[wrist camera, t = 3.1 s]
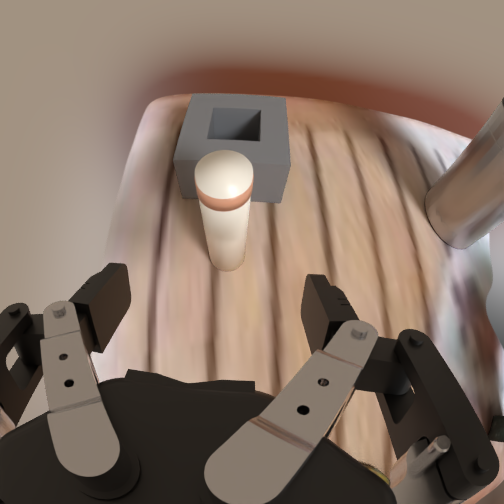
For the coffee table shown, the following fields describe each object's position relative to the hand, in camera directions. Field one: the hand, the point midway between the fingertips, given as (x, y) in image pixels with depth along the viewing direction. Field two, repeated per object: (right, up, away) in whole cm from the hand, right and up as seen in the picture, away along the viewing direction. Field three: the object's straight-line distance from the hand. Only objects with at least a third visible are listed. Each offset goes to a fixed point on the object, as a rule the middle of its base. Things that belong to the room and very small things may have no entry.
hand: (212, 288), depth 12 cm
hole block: (0, +11, +18) cm, 21 cm away
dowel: (-1, +1, +14) cm, 14 cm away
